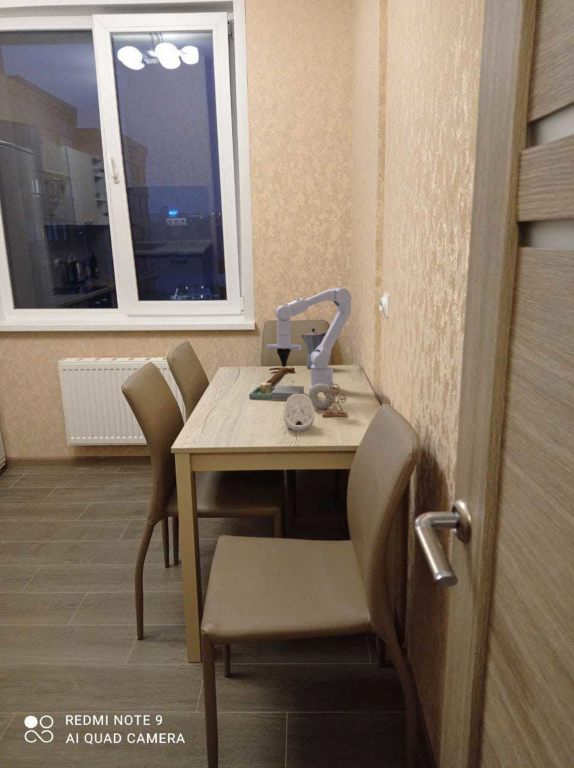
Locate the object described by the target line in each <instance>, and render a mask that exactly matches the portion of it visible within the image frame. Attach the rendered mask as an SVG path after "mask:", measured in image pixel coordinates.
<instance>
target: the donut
mask: <svg viewBox="0 0 574 768" xmlns="http://www.w3.org/2000/svg"><path fill="white" fill-rule="evenodd" d="M324 389H328V390H329V392H330V390H331V391H332V390H333V391H334V389H330V386H329V385H327V384H323V383H320V384H316V385H314V386H313V387H312V388H311V389H309V392H308V397H309V398H310V399H311V402H312V405H313V407H314V408H316V409H319V410H325V409H326V410H327V408H328V406H329V405H330V398H327V397H331V402H334V396H332V394H329V393H325V395H326V396H327V397H326V396H325V395H324V396H325V398H324V399H323V400H321V399H319V397H318V395H319V394H320V393H323V391H324V392H325V391H326V392H327V391H328V390H324ZM333 391H332V392H333ZM330 393H331V392H330ZM333 394H334V392H333ZM332 405H334V404H333V403H331V405H330V406H329V408H330V407H331V406H332ZM329 408H328V409H329Z"/></svg>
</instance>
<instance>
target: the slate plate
mask: <svg viewBox="0 0 574 768" xmlns="http://www.w3.org/2000/svg"><path fill="white" fill-rule="evenodd" d="M304 393H305V387H304V385H280V384H279V385H277V386H276V388H275V389H274V390H273V391H272V392H271V397H272V399H271V400H272V401H287V399H288V398H289V397H290V396H291V395H293V394H304ZM304 395H305V394H304Z"/></svg>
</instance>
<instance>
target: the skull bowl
mask: <svg viewBox="0 0 574 768" xmlns="http://www.w3.org/2000/svg"><path fill="white" fill-rule="evenodd" d="M315 412H316V411H315V407H314V406H313V405H312V402H311V399H310V398H309V395H307V394H293V395H291V396H290V397H289V398H288V399H287V400H286V403H285V406H284V408H283V421H284V424H285V425H286V426H287V427H288V428H289V429H291V430H292V431H295V432H304V431H306V430H308V429H309V428H310V427H311V426H312V425H313V424H314V422H315V414H316V413H315ZM298 422H300V423H301V424H298Z"/></svg>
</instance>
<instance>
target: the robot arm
mask: <svg viewBox="0 0 574 768" xmlns="http://www.w3.org/2000/svg"><path fill="white" fill-rule="evenodd" d="M325 301H329V302H333V303H334V305H335V307H336V309H337V312H336V314H335V316H334V318H333V320H332V322H331V324H330V326H329V328H328V329H327V331H326V332H327V333H326V332H325V333H326V335H325V337H323V340H322V342H321V344H320V345H319V346H318V347H317V348H316V350H315V351H314V352H312V353H311V355H310V361H311V362H312V366H311V369H310V385H309V388H308V389H309V390H310V389H311V388H312V387H313V386H314V385H316V384H320V383H323V384H327V385H329V386H331V385H332V384H334V370H333V369H334V368H332V367H329V364H330V363H329V362H330V358H331V354H332V349H333V347H334V345H335V343H336V342H337V339H338V338H339V336H340V334H341V332H342V330H343V328H344V326H345V325H346V323H347V321H348V319H349V317H350V315H351V313H352V295H351V293H350V291H349V290H348V289H346V288H343V287H340V286H335V287H333V288H328V289H326V290H324V291H321V292H320V293H317V294H315V295H313V296H310V297H308V298H306V299H305V298H302V297H296V298H295V300H293V301H291V302H285V303H284V304H285V305H279V306H278V307H277V308H276V309H275V312H274V315H275V316H276V343H268V344H266V350H276V354H277V355H278V357H279V360H280V363H281V367H286V368H287V365H288V364H287V363H288V359H289V357H290V354H291V351H302V345H301V344H293V343H292V344H291V341H292V340H291V338H292V337H291V336H292V335H291V318H292V317H295V316H298V315H300V314H302V313H304V312H306V311H307V310H308V308H309V307H312V306H315V305H317V304H319V303H322V302H323V303H324V302H325ZM332 387H334V385H332V386H331V388H332Z"/></svg>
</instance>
